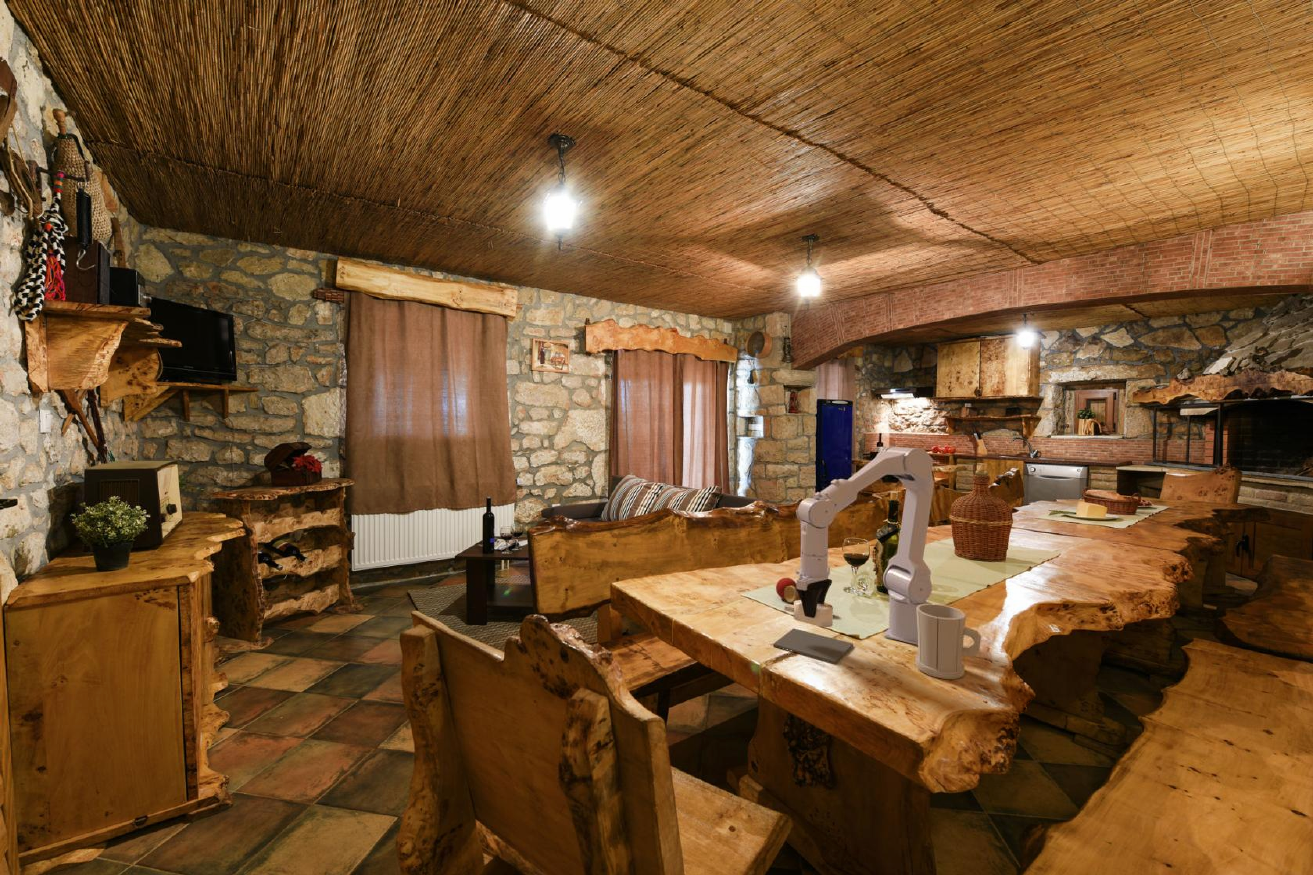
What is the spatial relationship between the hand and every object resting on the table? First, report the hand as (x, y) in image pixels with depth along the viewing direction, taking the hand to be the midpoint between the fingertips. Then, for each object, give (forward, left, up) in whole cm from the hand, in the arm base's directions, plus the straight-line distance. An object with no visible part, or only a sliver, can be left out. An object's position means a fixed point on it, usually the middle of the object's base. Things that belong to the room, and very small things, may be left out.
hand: (813, 613), depth 118 cm
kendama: (+12, -24, -8) cm, 28 cm away
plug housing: (0, 0, -2) cm, 2 cm away
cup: (-25, -6, -8) cm, 27 cm away
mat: (0, 0, -7) cm, 7 cm away
